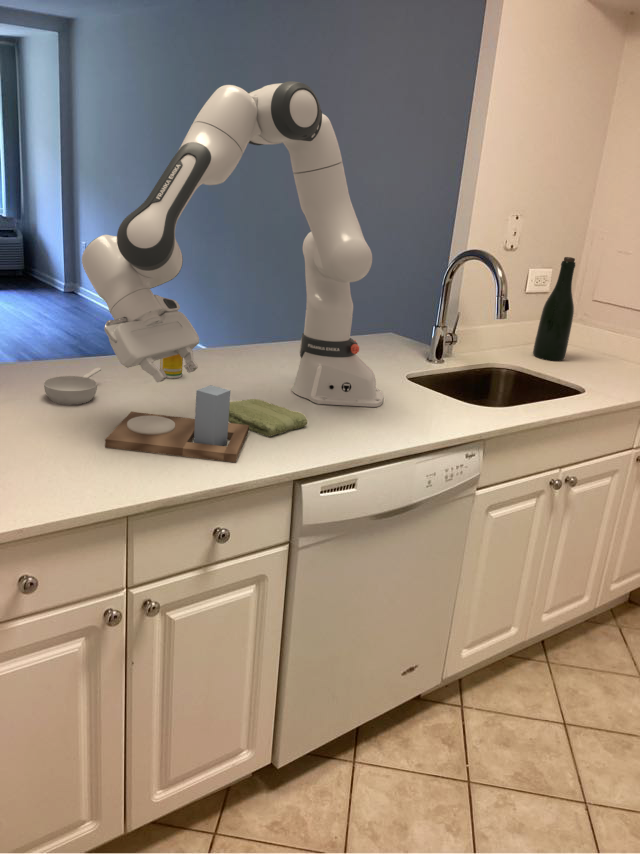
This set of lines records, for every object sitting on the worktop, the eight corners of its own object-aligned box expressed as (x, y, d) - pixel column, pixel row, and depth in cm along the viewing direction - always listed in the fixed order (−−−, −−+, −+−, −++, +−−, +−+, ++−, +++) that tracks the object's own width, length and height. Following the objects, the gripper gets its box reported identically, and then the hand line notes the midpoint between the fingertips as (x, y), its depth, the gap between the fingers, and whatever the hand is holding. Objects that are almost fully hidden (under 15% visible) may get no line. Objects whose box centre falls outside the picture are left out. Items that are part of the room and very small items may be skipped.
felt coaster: (179, 421, 144) (179, 418, 144) (168, 437, 136) (168, 434, 136) (135, 416, 144) (135, 413, 144) (120, 431, 136) (120, 428, 136)
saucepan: (33, 401, 151) (33, 384, 150) (77, 380, 168) (77, 364, 167) (81, 410, 150) (81, 392, 148) (121, 387, 166) (121, 371, 165)
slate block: (207, 439, 141) (210, 385, 138) (226, 444, 140) (230, 390, 136) (193, 445, 138) (196, 390, 134) (213, 451, 136) (216, 395, 132)
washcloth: (252, 405, 165) (252, 392, 164) (310, 428, 154) (311, 414, 153) (208, 416, 155) (209, 402, 154) (267, 441, 145) (268, 426, 144)
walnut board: (248, 432, 147) (249, 425, 146) (235, 462, 132) (236, 454, 131) (131, 418, 147) (131, 411, 147) (105, 447, 132) (105, 439, 132)
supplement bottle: (155, 373, 179) (157, 335, 175) (175, 371, 182) (176, 334, 179) (166, 379, 175) (167, 340, 172) (186, 377, 178) (187, 339, 175)
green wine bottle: (563, 363, 236) (586, 260, 225) (530, 357, 240) (551, 256, 228) (565, 357, 246) (587, 258, 235) (533, 351, 249) (554, 253, 238)
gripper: (109, 312, 128) (152, 377, 127) (181, 299, 145) (219, 357, 145) (90, 331, 131) (131, 395, 131) (163, 317, 149) (200, 373, 148)
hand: (178, 375), depth 138 cm, fingers open, 8 cm apart
